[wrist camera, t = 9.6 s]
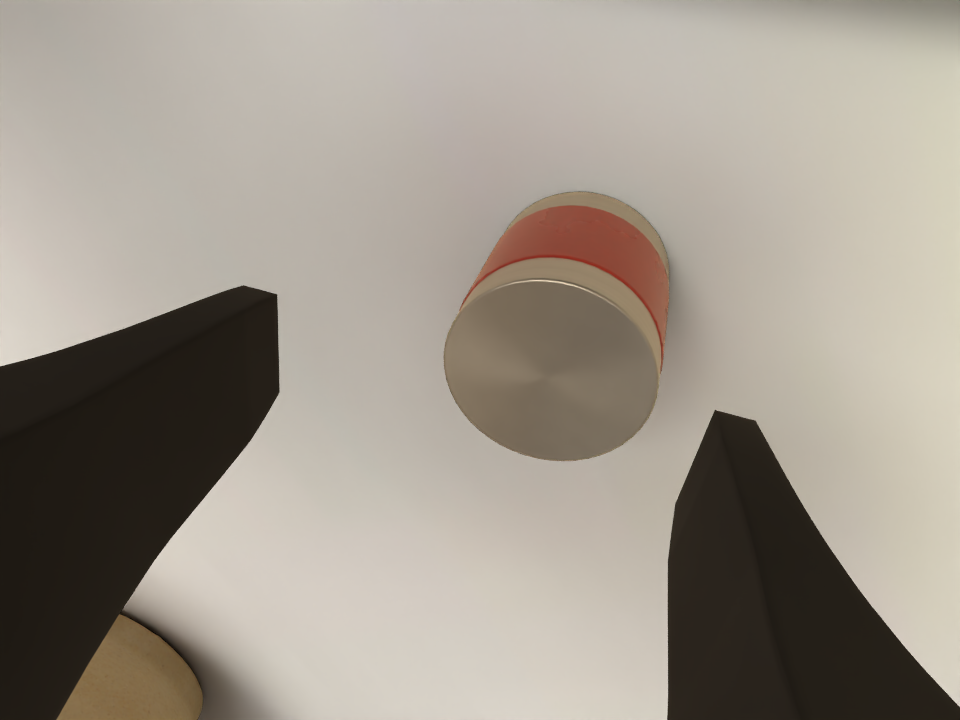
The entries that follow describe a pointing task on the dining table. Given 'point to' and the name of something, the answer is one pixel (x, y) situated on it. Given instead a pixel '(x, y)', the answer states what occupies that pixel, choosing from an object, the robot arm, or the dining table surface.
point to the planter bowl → (134, 680)
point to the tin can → (563, 330)
